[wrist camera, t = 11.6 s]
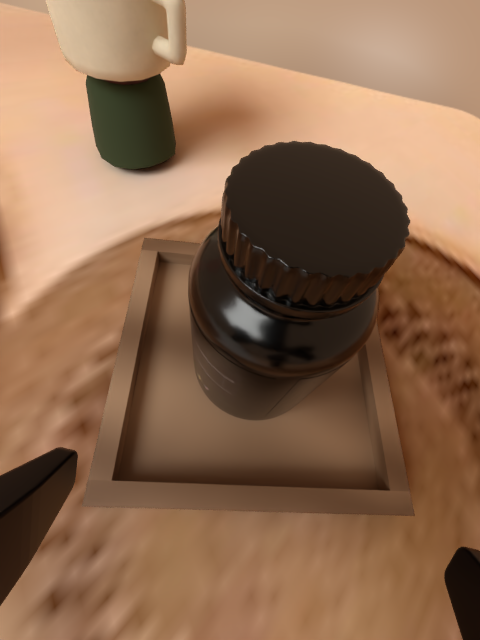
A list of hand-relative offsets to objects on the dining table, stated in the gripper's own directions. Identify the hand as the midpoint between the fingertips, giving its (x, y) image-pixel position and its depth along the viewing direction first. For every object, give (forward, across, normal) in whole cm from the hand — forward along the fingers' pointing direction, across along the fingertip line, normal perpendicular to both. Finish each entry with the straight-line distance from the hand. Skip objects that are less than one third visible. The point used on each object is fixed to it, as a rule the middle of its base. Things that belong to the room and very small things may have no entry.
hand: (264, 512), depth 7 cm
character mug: (+23, +13, -10) cm, 28 cm away
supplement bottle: (+11, 0, +2) cm, 11 cm away
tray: (+12, 0, +2) cm, 12 cm away
